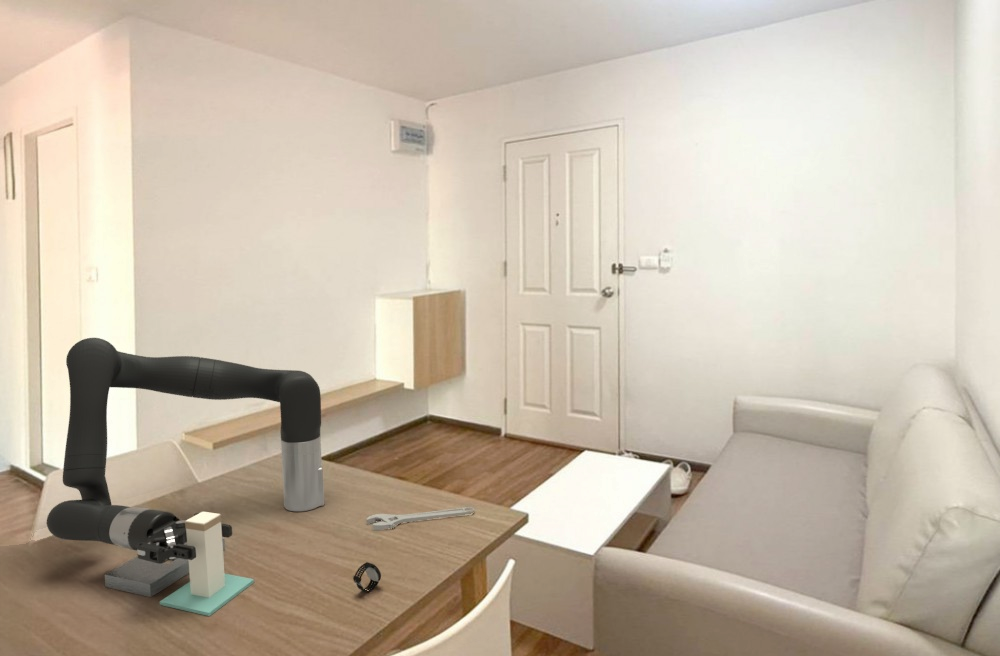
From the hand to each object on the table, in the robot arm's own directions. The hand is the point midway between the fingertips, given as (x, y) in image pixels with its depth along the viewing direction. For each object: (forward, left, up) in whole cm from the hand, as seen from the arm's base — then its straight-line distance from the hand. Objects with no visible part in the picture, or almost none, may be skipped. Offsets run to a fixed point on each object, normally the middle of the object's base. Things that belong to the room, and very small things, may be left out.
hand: (213, 542), depth 106 cm
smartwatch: (-26, +9, -10) cm, 29 cm away
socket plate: (+9, -14, -10) cm, 20 cm away
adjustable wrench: (-42, -15, -11) cm, 46 cm away
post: (+1, -1, -10) cm, 10 cm away
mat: (+1, -1, -10) cm, 10 cm away
